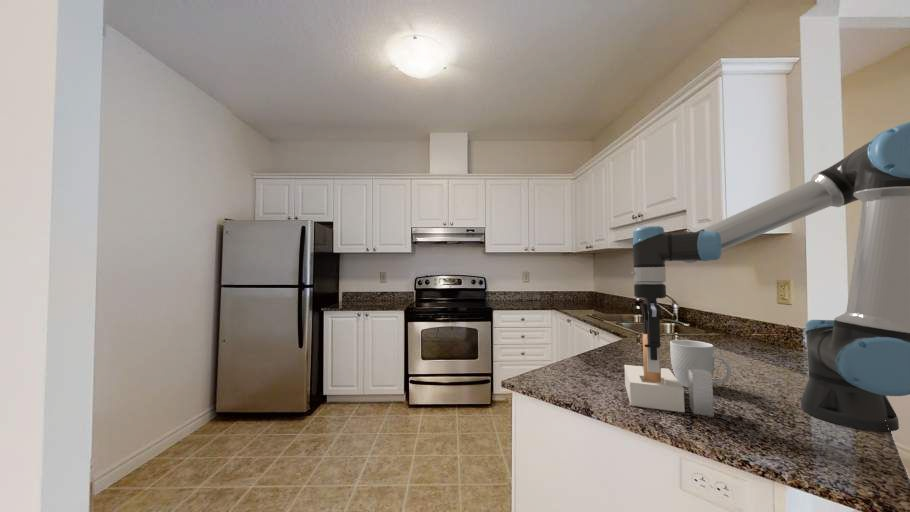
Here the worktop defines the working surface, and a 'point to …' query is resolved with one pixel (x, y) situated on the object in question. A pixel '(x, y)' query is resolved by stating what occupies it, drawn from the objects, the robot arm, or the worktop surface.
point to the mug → (694, 359)
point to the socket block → (654, 390)
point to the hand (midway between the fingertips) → (652, 369)
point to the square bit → (701, 392)
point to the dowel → (647, 375)
